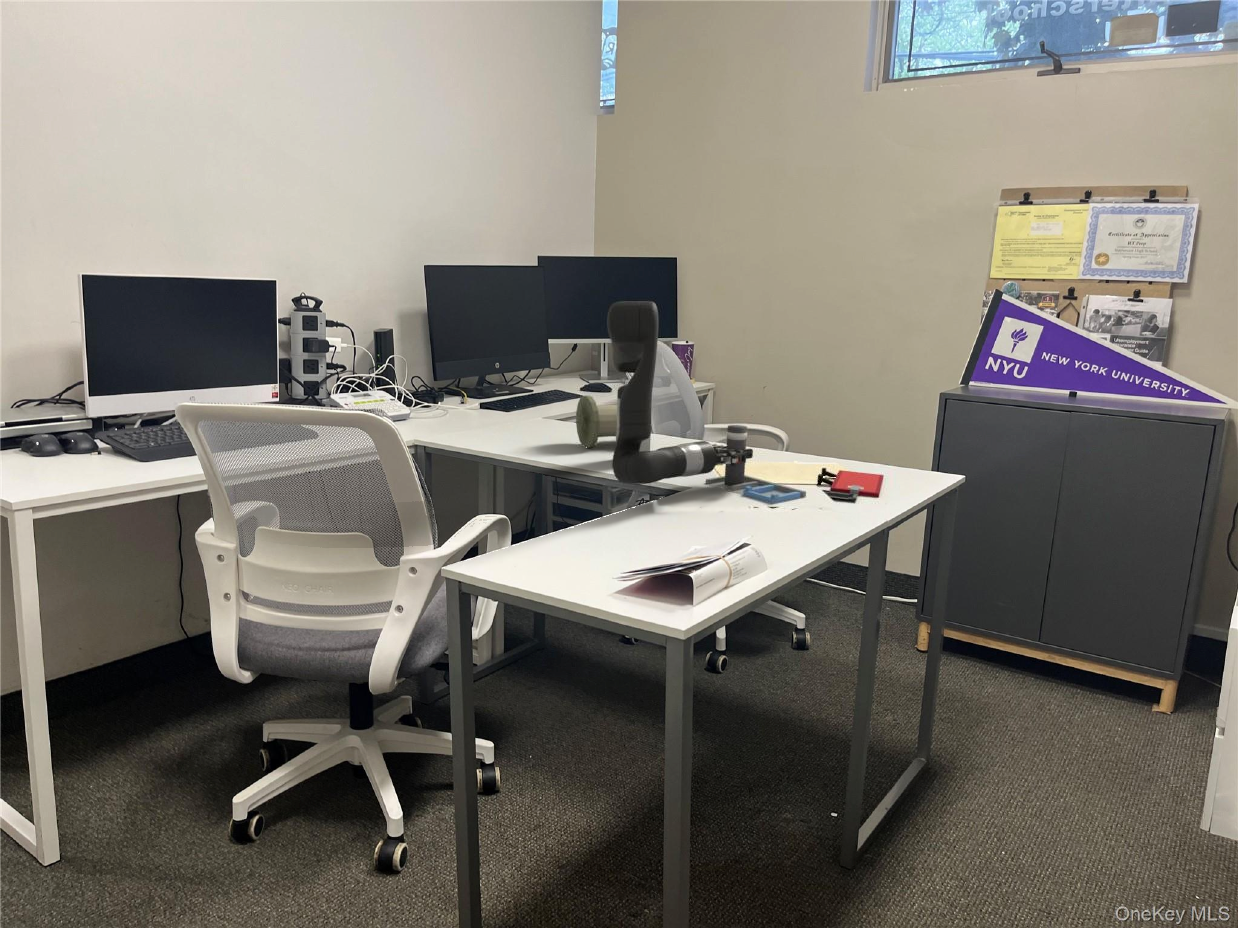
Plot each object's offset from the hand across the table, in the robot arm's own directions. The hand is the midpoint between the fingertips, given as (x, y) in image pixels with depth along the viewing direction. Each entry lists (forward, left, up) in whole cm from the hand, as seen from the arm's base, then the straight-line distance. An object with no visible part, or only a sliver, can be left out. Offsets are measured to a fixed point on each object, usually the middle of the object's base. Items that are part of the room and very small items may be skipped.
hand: (743, 451), depth 213 cm
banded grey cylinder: (-2, -2, -8) cm, 8 cm away
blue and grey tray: (+2, -7, -9) cm, 11 cm away
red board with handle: (+27, +2, -10) cm, 29 cm away
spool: (-29, +50, -9) cm, 59 cm away
